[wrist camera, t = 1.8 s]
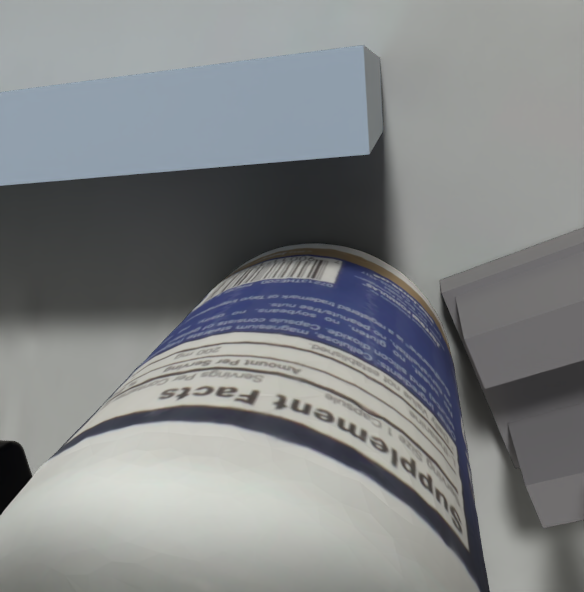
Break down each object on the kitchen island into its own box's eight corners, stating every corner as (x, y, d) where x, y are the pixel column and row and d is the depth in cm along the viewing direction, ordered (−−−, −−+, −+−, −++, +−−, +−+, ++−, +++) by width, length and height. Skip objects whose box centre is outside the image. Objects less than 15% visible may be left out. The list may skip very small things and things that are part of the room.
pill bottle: (367, 501, 13) (268, 1460, 4) (167, 388, 13) (-393, 1092, 4) (509, 322, 11) (1028, 1596, 2) (267, 186, 11) (-499, 738, 2)
